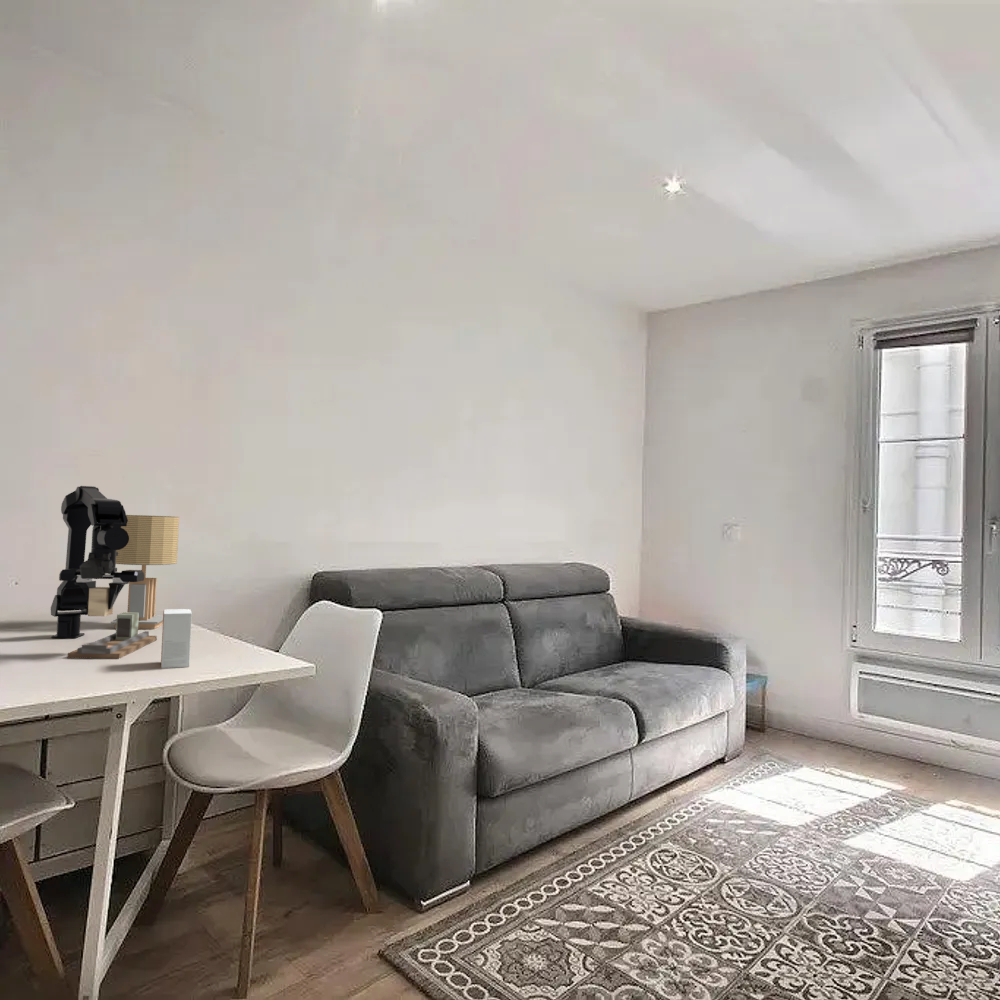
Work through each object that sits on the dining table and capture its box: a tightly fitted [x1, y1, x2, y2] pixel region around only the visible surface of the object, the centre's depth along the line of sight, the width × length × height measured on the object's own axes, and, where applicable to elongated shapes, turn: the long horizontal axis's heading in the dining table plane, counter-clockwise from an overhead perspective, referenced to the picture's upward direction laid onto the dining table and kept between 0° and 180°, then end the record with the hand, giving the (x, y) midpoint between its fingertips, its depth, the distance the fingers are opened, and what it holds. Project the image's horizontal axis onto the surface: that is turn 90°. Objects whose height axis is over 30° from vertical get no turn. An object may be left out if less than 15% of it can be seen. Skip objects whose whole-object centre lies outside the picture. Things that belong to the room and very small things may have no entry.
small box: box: [160, 608, 193, 669], centre depth 177 cm, size 8×6×13 cm
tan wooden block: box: [87, 586, 114, 617], centre depth 187 cm, size 5×4×7 cm
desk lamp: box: [110, 514, 180, 630], centre depth 233 cm, size 20×20×35 cm
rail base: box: [66, 611, 158, 660], centre depth 194 cm, size 28×12×8 cm, turn 8°
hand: (100, 609), depth 187 cm, fingers closed on tan wooden block, 4 cm apart
